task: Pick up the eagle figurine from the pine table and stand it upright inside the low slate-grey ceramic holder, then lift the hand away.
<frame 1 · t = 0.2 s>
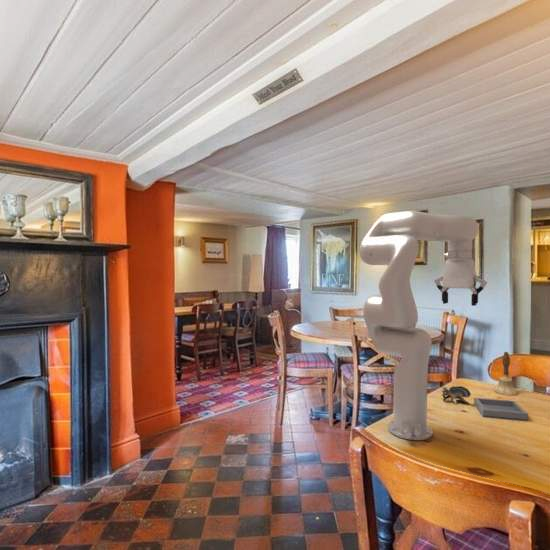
hand: (459, 304, 136), 36 cm above the table, tool pointing down, fingers open, 9 cm apart
hand bell: (505, 392, 151), on the table
holder: (499, 412, 130), on the table
eagle figurine: (455, 403, 140), on the table
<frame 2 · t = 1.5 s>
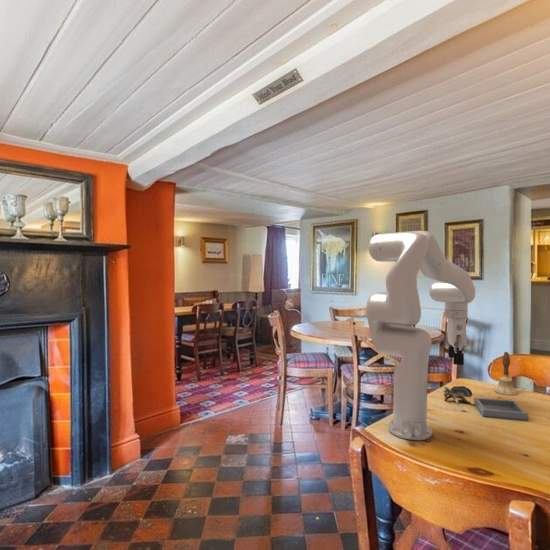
hand: (455, 360, 139), 15 cm above the table, tool pointing down, fingers open, 9 cm apart
nothing on the table moved.
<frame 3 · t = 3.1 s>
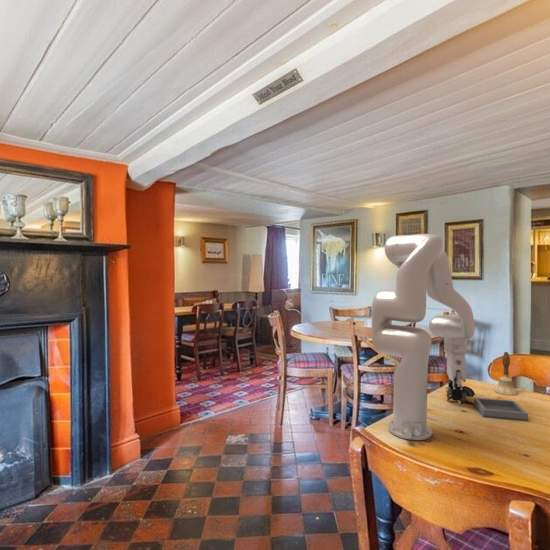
hand: (454, 396, 140), 2 cm above the table, tool pointing down, fingers closed on eagle figurine, 6 cm apart
eagle figurine: (459, 403, 139), on the table, touching gripper
everything else where it was.
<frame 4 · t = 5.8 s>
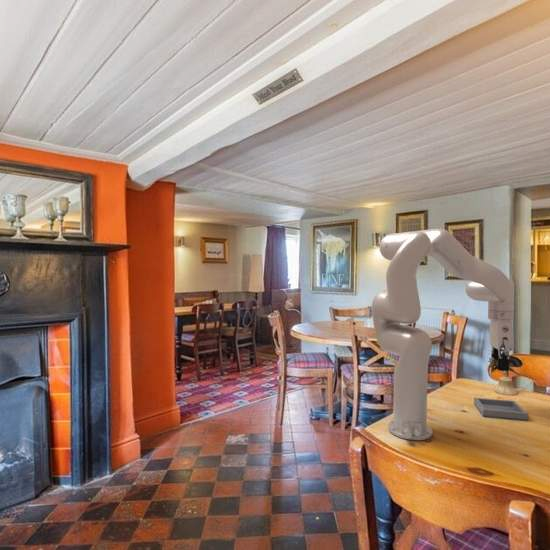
hand: (499, 367, 130), 15 cm above the table, tool pointing down, fingers closed on eagle figurine, 6 cm apart
eagle figurine: (504, 374, 130), point 13 cm above the table, touching gripper
everything else where it was.
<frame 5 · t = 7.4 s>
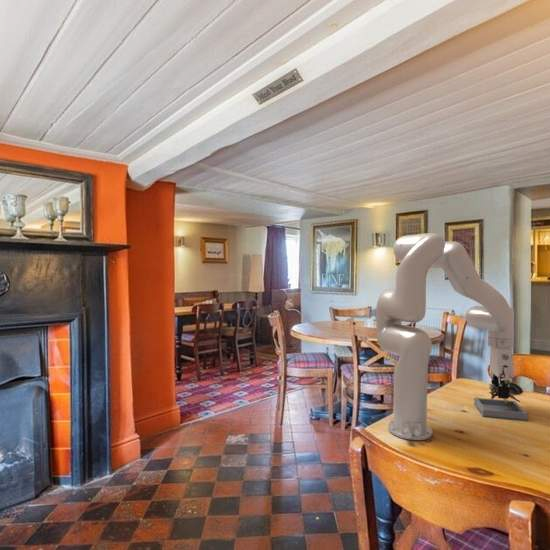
hand: (499, 394, 130), 6 cm above the table, tool pointing down, fingers closed on eagle figurine, 6 cm apart
eagle figurine: (504, 401, 130), point 4 cm above the table, touching gripper
everything else where it was.
when the fingers open (4 cm above the table, at t = 8.4 s): eagle figurine stays where it is, resting on holder.
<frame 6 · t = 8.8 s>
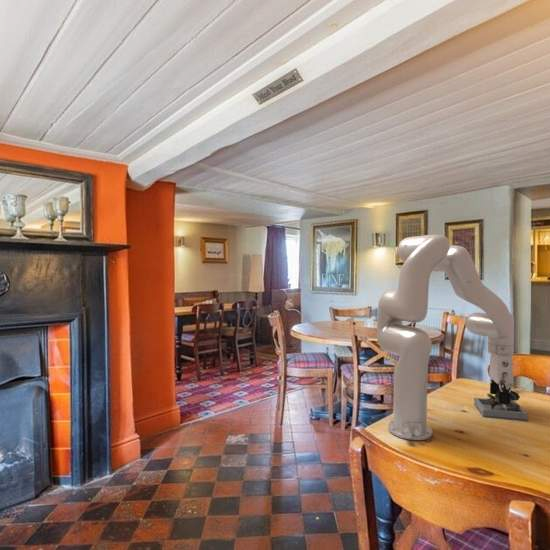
hand: (499, 398, 130), 5 cm above the table, tool pointing down, fingers open, 9 cm apart
eagle figurine: (505, 408, 130), point 1 cm above the table, touching holder
everything else where it was.
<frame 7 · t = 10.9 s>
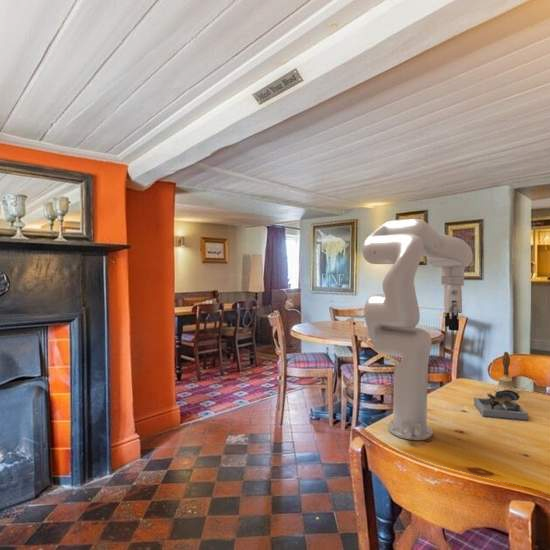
hand: (451, 328, 139), 27 cm above the table, tool pointing down, fingers open, 9 cm apart
nothing on the table moved.
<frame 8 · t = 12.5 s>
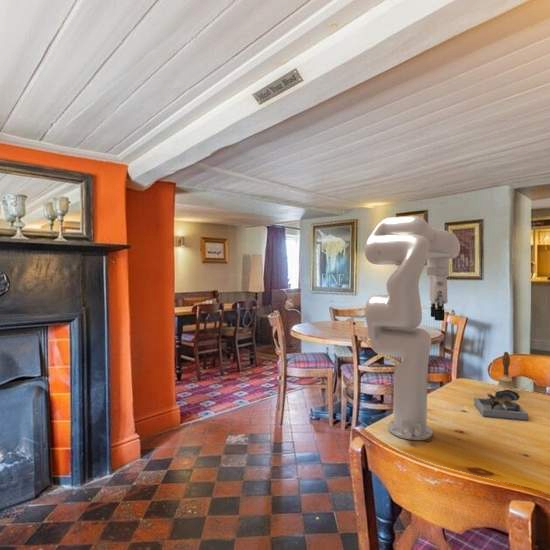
hand: (437, 318, 142), 30 cm above the table, tool pointing down, fingers open, 9 cm apart
nothing on the table moved.
at the end: eagle figurine 1.7 cm off-centre on the holder, point 1.3 cm above the holder's base; eagle figurine tilted 13°; the gripper is holding nothing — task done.
